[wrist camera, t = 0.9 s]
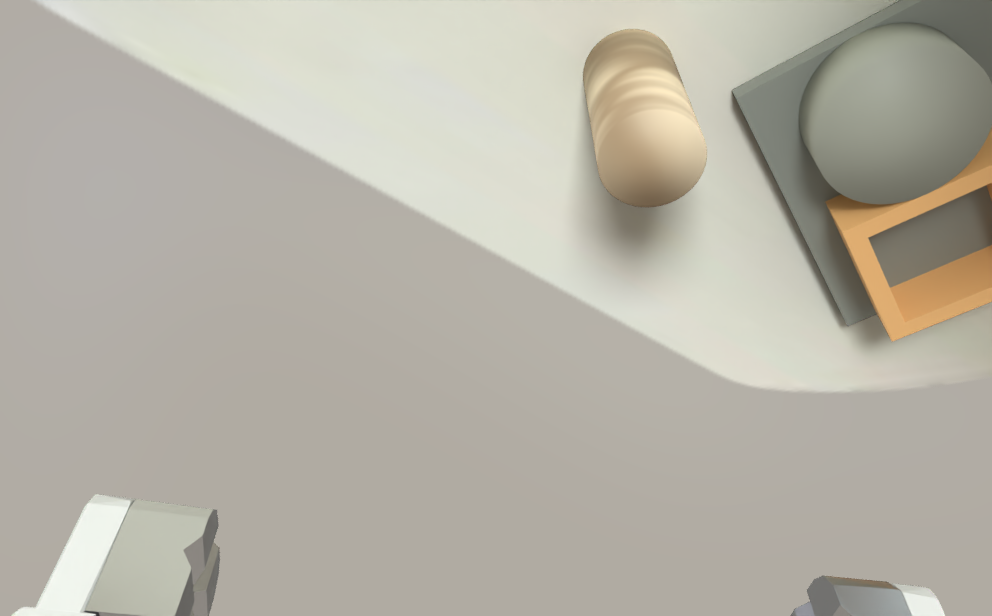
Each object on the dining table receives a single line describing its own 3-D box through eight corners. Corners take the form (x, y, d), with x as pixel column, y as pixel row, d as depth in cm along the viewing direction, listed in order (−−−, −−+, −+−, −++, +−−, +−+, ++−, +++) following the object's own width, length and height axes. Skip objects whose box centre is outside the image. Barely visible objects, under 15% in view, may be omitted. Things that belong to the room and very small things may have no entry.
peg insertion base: (979, -42, 39) (1019, -14, 36) (1053, 227, 48) (1092, 268, 45) (731, 90, 43) (749, 125, 40) (842, 315, 52) (863, 359, 49)
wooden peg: (649, 11, 41) (678, 90, 34) (689, 87, 43) (724, 176, 36) (566, 59, 42) (577, 144, 35) (609, 130, 45) (627, 223, 38)
